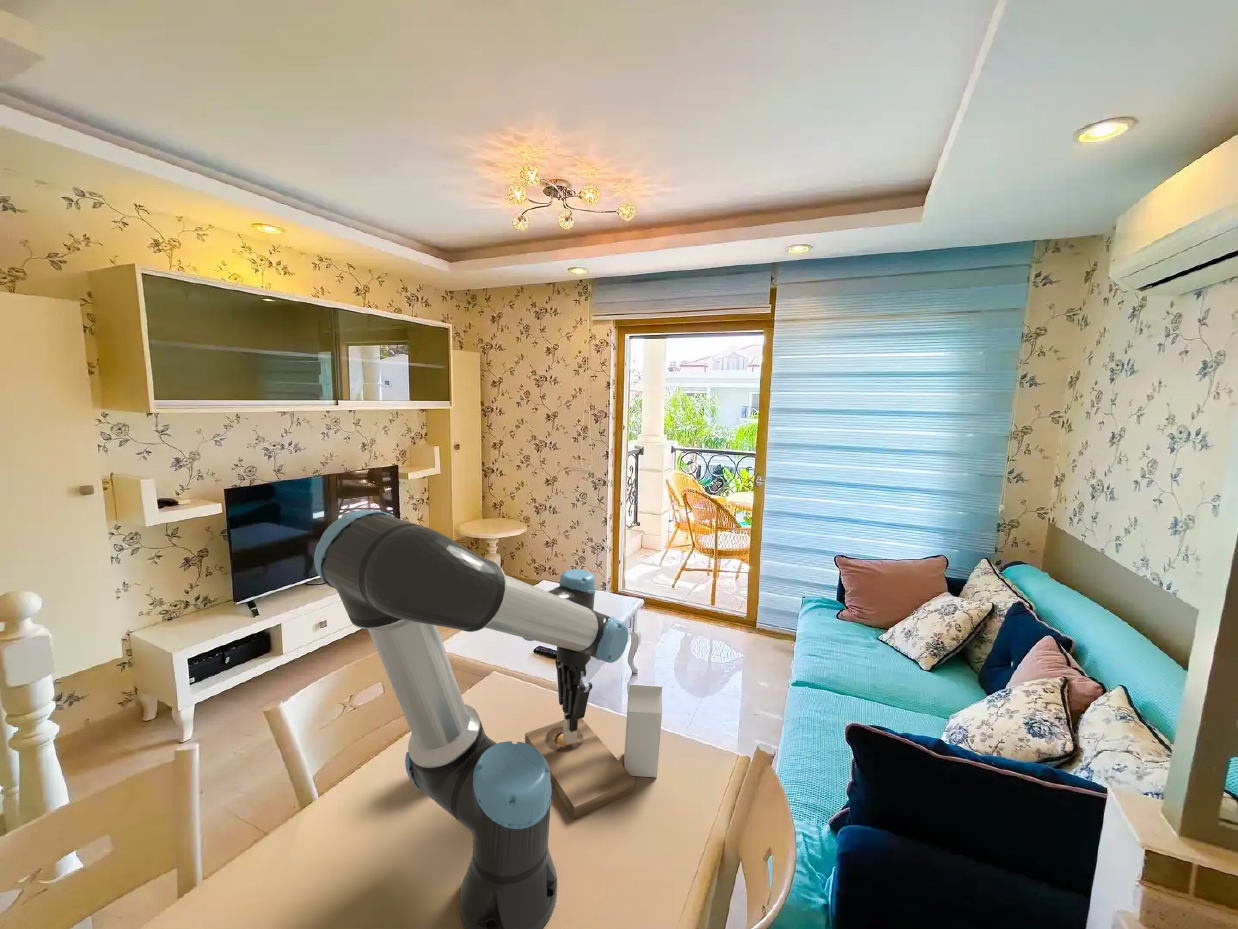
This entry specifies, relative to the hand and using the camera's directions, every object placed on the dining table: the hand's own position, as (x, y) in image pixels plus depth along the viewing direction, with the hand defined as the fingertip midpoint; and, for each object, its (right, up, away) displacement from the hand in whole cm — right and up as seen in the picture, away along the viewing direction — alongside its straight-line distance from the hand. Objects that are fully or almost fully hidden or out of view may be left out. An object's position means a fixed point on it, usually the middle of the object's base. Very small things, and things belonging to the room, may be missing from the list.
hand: (569, 740), depth 111 cm
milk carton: (+16, -5, -1) cm, 16 cm away
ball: (-1, -2, +2) cm, 3 cm away
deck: (+2, -4, -2) cm, 5 cm away
